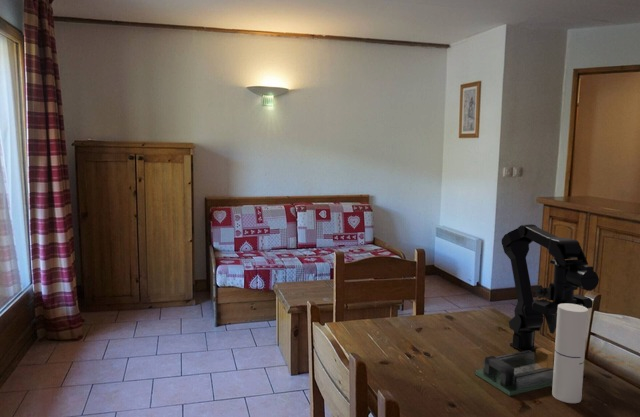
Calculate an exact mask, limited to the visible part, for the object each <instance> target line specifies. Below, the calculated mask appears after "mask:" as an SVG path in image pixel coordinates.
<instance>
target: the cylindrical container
mask: <svg viewBox="0 0 640 417" xmlns="http://www.w3.org/2000/svg"><path fill="white" fill-rule="evenodd" d="M588 315H589V308H588V309H587V308H586V307H584V306H583V305H582V306H581V305H577V304H569V303H562V304H559V305H558V310H557V325H556V329H555V342H554V343H555V344H554V358H553V367H554V371H553V386H551V387H552V390H551V394H552V396H553V397H554V398H555V399H556V400H558V401H560V402H563V403H568V404H577V403H581V401H582V398H583V397H582V396H583V395H582V393H583V385H584V384H583V382H584V381H583V380H584V369H585V353H586V340H587V329H588Z"/></svg>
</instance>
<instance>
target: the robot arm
mask: <svg viewBox="0 0 640 417" xmlns="http://www.w3.org/2000/svg"><path fill="white" fill-rule="evenodd" d="M533 242H534V243H536V244H538V245H540V246H541V247H543V248H545V249H546V250H547V251H548V254H549V255H550V256H552V257H553V259H551V260H550V261H549V263H550V264H552V265H553V266H554V268H553V270H554V271H553V281H552V282H550V283H549V284H548V286H547V287H544V286H543V285H534V286H533V289H532V285H531V284H532V283H531V279H530V273H529V269H528V268H529V267H528V262H527V256H528V253H529V251H530V244H531V243H533ZM501 245H502V248H503V252H504V254H505V255H506V256H507V257H508V259H509V260H510V264H511V270H512V276H513V281H514V282H513V283H514V288H515V293H516V299H517V304H516V305H515V308H514V316H513V317H512V318H511V319H510V320H509V321H508V325H509V329H510V330H512V331H513V333H512V342H511V343H509V345H510V346H512V347H513V348H515V349H517V350H520V352H523V351H528V350H530V351H534V350H535V351H536V349H537V348H539V347H538V346H535V339H536V338H535V337H536V332H540V331H541V328H542V326H543V323H544V318H545V321H546V324H547V327H548V331H549V333H550V334H555V333H556V325H557V310H558V305H559V304H562V303H569V304H577V305H581V306H584V307H586V308H587V309H588V310H589V309H592V308H593V300H592V299H591V297H589V296H584V295H581V294H578V293H577V294H576V293H575V291H577V290H579V289H582V290H584V291H588V292H590V291H593V290H595V289H596V288H597V286H598V285H599V281H600V278H599V276H598V274H597V273H596V272H595V271H594V266H592V265H589V263H588V260H587V257H586V255H585V253H584V251H583V248H582V246H581V243H580V242H579V241H578V240H576V239H572V238H568V237H562V236H561V237H560V236H556V235H555V234H554V233H553V234H552V233H550V232H549V231H546V230H544V229H542V228H540V227H538V226H537V225H536V224H521V225H520V226H518V227H517V228H515V229H513V230H511V231H509V232H507V233H506V234H504V235H503V236H502V238H501ZM534 296H535V297H537V298H538V299H536V300H534ZM543 298H546V299H543Z"/></svg>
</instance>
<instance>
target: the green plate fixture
mask: <svg viewBox="0 0 640 417" xmlns="http://www.w3.org/2000/svg"><path fill="white" fill-rule="evenodd" d="M535 356H536V352H534V351H532V350H528V351H518V352H513V353H509V354H503V355H500V356H494V355H492V356H486V357H484V359H483V367H482V368H480V369H475V371H474V374H475V375H476V376H477V377H479V378H480V379H483V380H484V381H485V382H487V383H489V384H490V385H492V386H493V387H495V388H496V389H498V390H500V391H501V392H502V393H504V394H506V395H507V396H515V395H520V394H524V393H528V392H532V391H536V390H540V389H544V388H548V387H552V386H553V371H554V366H553V367H551V368H546V369H542V370H537V371H533V372H528V373H524V374H519V375H515V376H514V368H518V367H522V366H527V365H532V364H536V363H535Z"/></svg>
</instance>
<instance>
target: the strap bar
mask: <svg viewBox="0 0 640 417" xmlns="http://www.w3.org/2000/svg"><path fill="white" fill-rule="evenodd" d="M554 355H555V352H553V351H551V350H548V349H545V348H544V347H538V348H537V349H535V356H534V360H535V363H536V364H532V365H527V366H522V367H518V368H514V376H515V375H519V374H524V373H528V372H533V371H537V370H542V369H546V368H551V367H554Z"/></svg>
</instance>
